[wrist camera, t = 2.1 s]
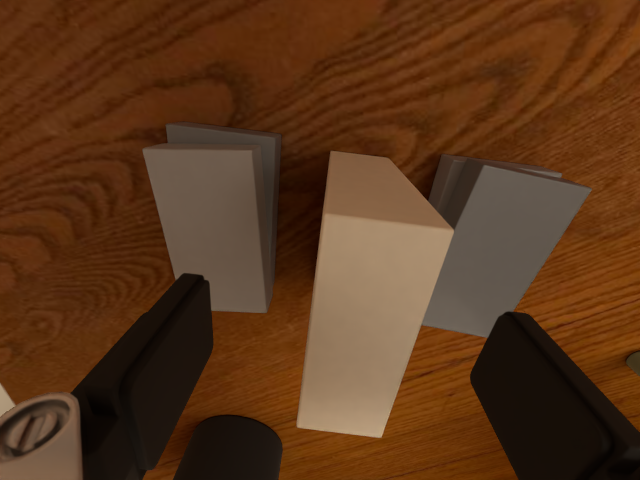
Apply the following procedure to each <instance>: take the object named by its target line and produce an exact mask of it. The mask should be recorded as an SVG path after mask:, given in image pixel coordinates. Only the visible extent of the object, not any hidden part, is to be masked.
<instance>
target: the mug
mask: <svg viewBox="0 0 640 480" xmlns="http://www.w3.org/2000/svg"><path fill="white" fill-rule="evenodd" d="M282 451H283V450H282V443H281V441H280V439H279V437H278V436H277V434H276V433H275V432H274V431H273V430H271V429H270V428H269V427H267V426H266V425H264V424H262V423H260V422H258V421H255V420H253V419H249V418H246V417H240V416H229V415H228V416H217V417H213V418H210V419H207V420H205V421H203V422H202V423H200V424H199V425H198V426H197V427H196V429H195V430H194V432H193V434H192V437H191V439H190V441H189V443H188V446H187V448H186V450H185V453H184V455H183V457H182V460H181V462H180V464H179V467H178V469H177V471H176V473H175V476H174V478H173V480H278V477H279V470H280V464H281V457H282Z"/></svg>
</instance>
